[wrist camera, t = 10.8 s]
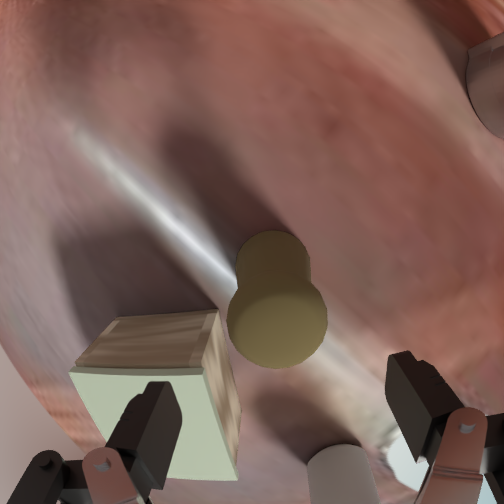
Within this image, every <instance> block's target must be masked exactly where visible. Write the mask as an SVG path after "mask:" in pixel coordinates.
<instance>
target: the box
mask: <svg viewBox="0 0 504 504" xmlns="http://www.w3.org/2000/svg"><path fill="white" fill-rule="evenodd" d="M75 364H76V366H77V367H92V368H118V369H174V368H200V367H205V371H206V374H207V378H208V381H209V385H210V388H211V392H212V395H213V398H214V402H215V405H216V408H217V411H218V415H219V418H220V421H221V424H222V427H223V430H224V433H225V436H226V439H227V442H228V445H229V448H230V451H231V454H232V457H233V460H234V463H235V466H236V461H237V451H238V441H239V432H240V422H241V412H242V410H241V406H240V402H239V398H238V393H237V389H236V385H235V381H234V377H233V372H232V368H231V364H230V359H229V355H228V350H227V346H226V341H225V337H224V332H223V327H222V323H221V318H220V313H219V309H211V310H200V311H190V312H178V313H167V314H154V315H140V316H125V317H116V318H115V319H114V320H113V321H112V322H111V324H110V325H109V326H108V327H107V328H106V329H105V330H104V331H103V332H102V333H101V334H100V335H99V336H98V337H97V338H96V339H95V340H94V342H93V343H92V344H91V345H90V346H89V347H88V348H87V349H86V350H85V351H84V352H83V353H82V355H81V356H80V357H79V358H78V359H77V360H76V361H75Z"/></svg>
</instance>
